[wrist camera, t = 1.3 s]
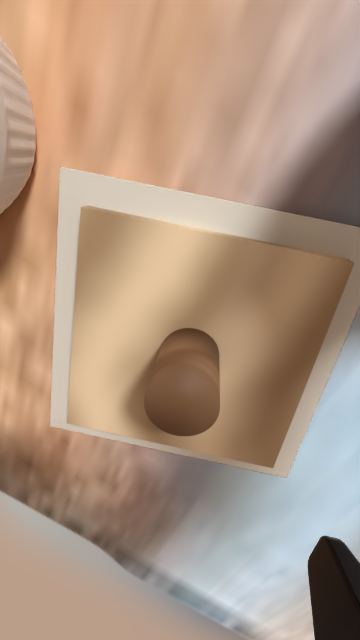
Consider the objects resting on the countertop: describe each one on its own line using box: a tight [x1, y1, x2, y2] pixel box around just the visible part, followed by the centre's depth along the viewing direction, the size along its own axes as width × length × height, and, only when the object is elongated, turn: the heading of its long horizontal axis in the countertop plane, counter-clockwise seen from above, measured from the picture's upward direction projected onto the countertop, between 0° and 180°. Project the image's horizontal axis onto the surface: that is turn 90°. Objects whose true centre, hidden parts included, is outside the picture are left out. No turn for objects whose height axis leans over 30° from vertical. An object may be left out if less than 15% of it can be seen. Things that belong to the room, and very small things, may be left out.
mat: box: [50, 167, 360, 478], centre depth 19 cm, size 16×16×1 cm
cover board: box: [67, 206, 354, 468], centre depth 17 cm, size 13×13×6 cm
